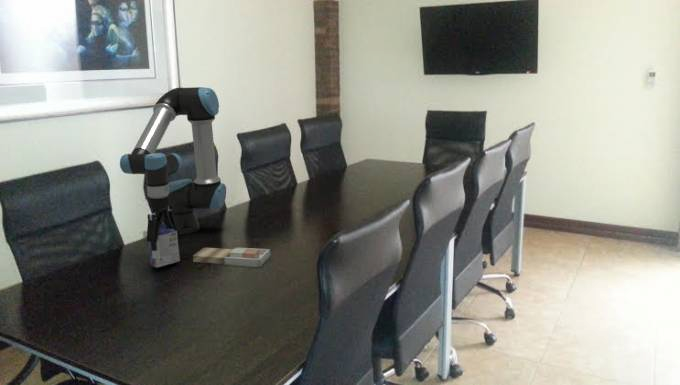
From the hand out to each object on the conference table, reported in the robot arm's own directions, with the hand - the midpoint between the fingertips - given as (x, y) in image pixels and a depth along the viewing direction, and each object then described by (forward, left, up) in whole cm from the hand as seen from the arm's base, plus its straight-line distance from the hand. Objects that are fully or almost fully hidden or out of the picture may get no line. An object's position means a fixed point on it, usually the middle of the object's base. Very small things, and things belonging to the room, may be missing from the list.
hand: (164, 252), depth 209 cm
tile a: (+25, +12, -5) cm, 28 cm away
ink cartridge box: (0, 0, -4) cm, 4 cm away
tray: (+29, +12, -6) cm, 31 cm away
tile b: (+30, +12, -5) cm, 32 cm away
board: (+15, +12, -6) cm, 19 cm away
